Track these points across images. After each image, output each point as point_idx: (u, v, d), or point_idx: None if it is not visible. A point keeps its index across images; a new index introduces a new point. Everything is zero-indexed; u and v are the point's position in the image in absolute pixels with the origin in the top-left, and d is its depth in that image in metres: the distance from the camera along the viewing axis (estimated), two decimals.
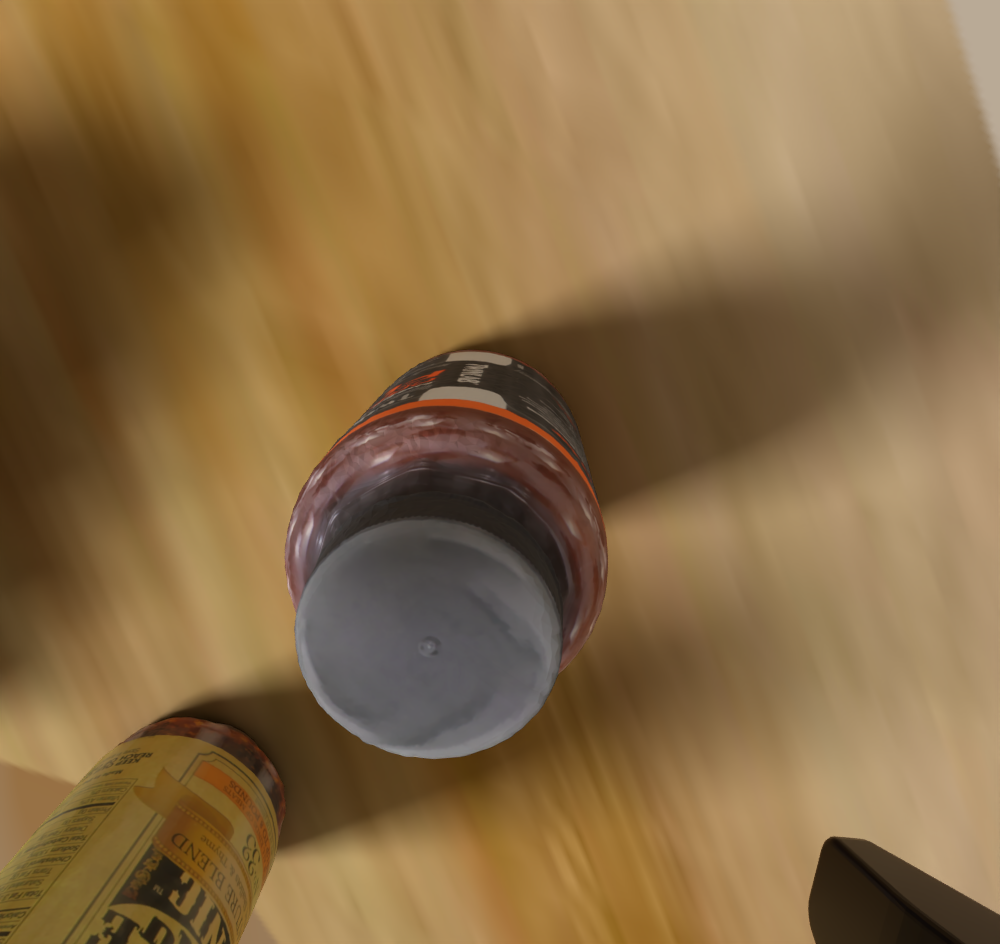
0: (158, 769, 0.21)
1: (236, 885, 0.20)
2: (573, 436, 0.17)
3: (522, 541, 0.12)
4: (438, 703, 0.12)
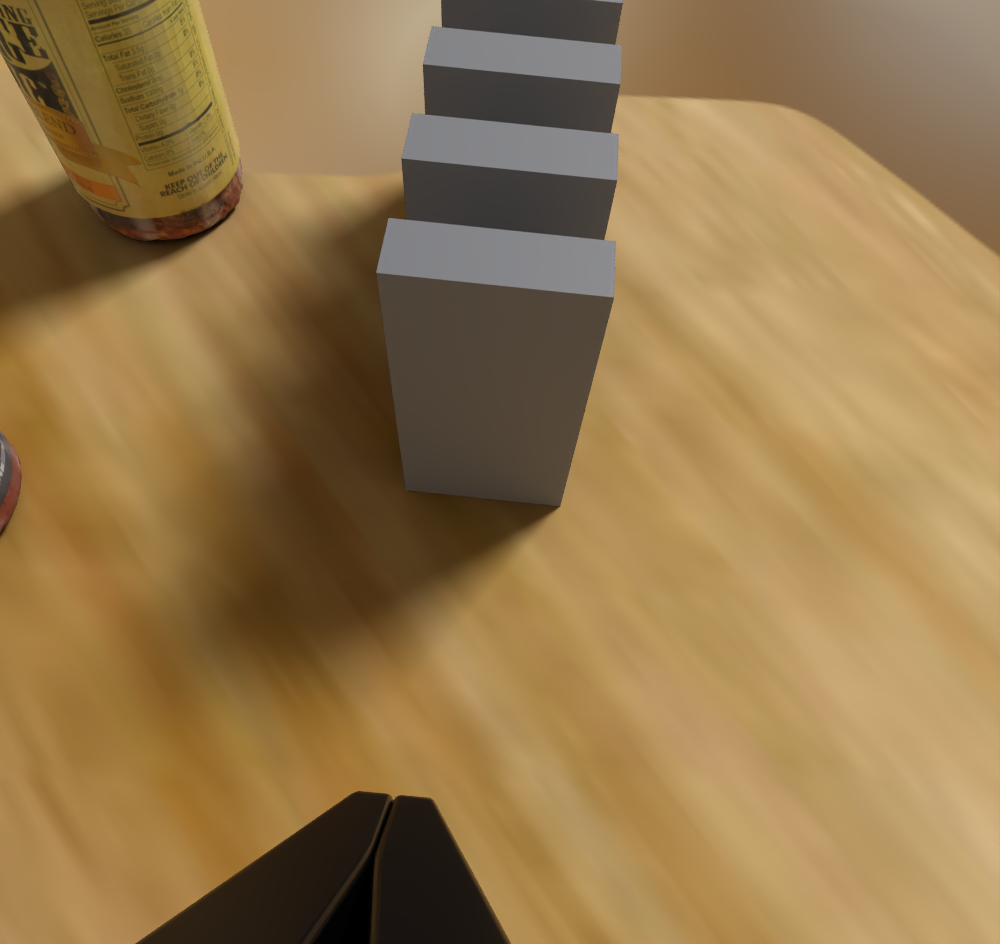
0: (140, 183, 0.27)
1: None
2: None
3: None
4: None
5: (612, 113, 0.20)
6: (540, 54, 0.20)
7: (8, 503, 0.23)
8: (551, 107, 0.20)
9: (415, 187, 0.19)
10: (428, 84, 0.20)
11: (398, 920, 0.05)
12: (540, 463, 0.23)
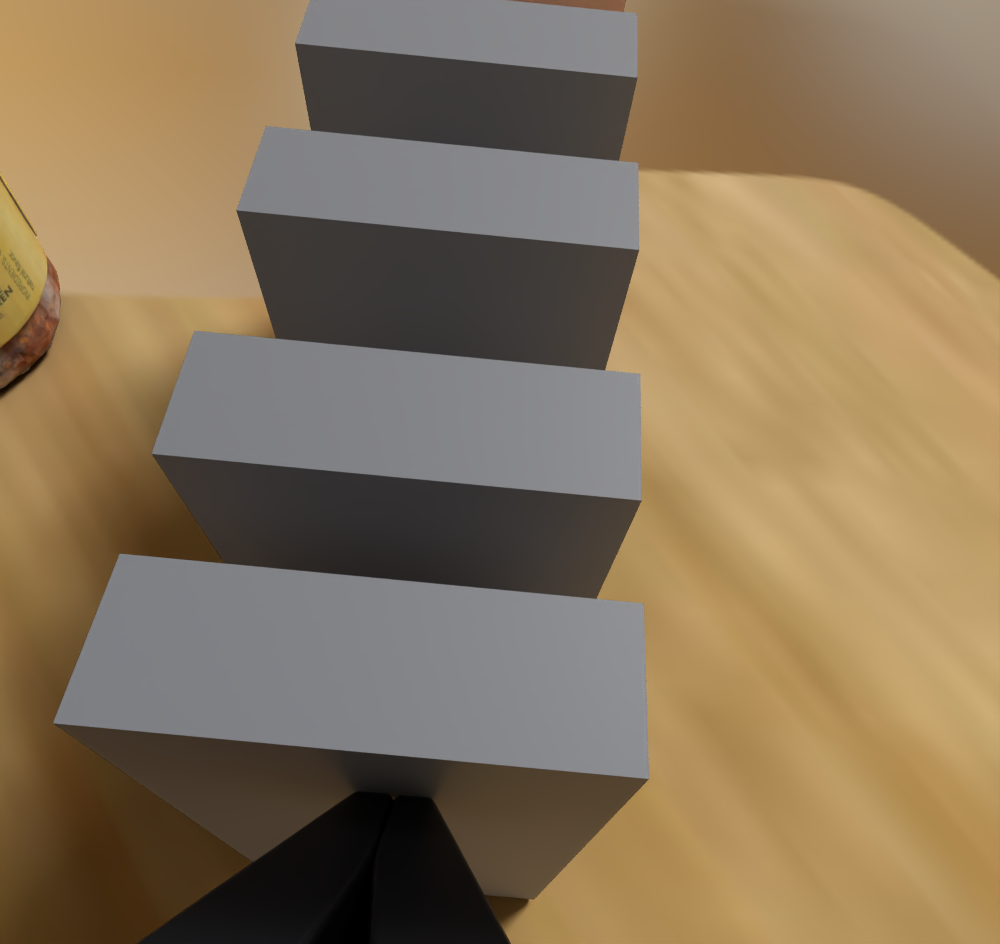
0: None
1: None
2: None
3: None
4: None
5: (622, 295, 0.10)
6: (479, 184, 0.10)
7: None
8: (502, 284, 0.10)
9: (201, 492, 0.09)
10: (255, 244, 0.10)
11: (398, 920, 0.05)
12: (495, 878, 0.13)
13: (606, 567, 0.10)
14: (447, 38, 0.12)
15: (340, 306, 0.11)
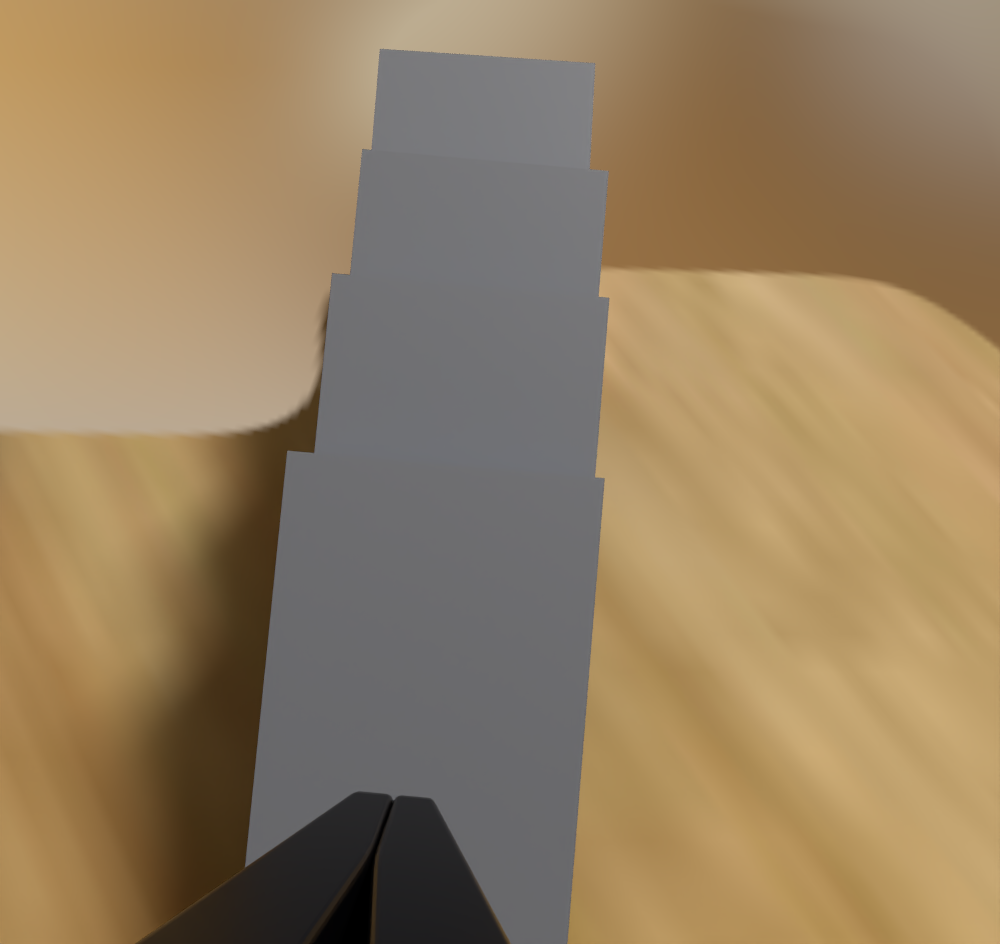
0: None
1: None
2: None
3: None
4: None
5: (602, 211, 0.16)
6: None
7: None
8: (523, 204, 0.16)
9: (343, 319, 0.14)
10: (365, 175, 0.16)
11: (398, 920, 0.05)
12: None
13: (598, 396, 0.14)
14: None
15: (408, 231, 0.16)
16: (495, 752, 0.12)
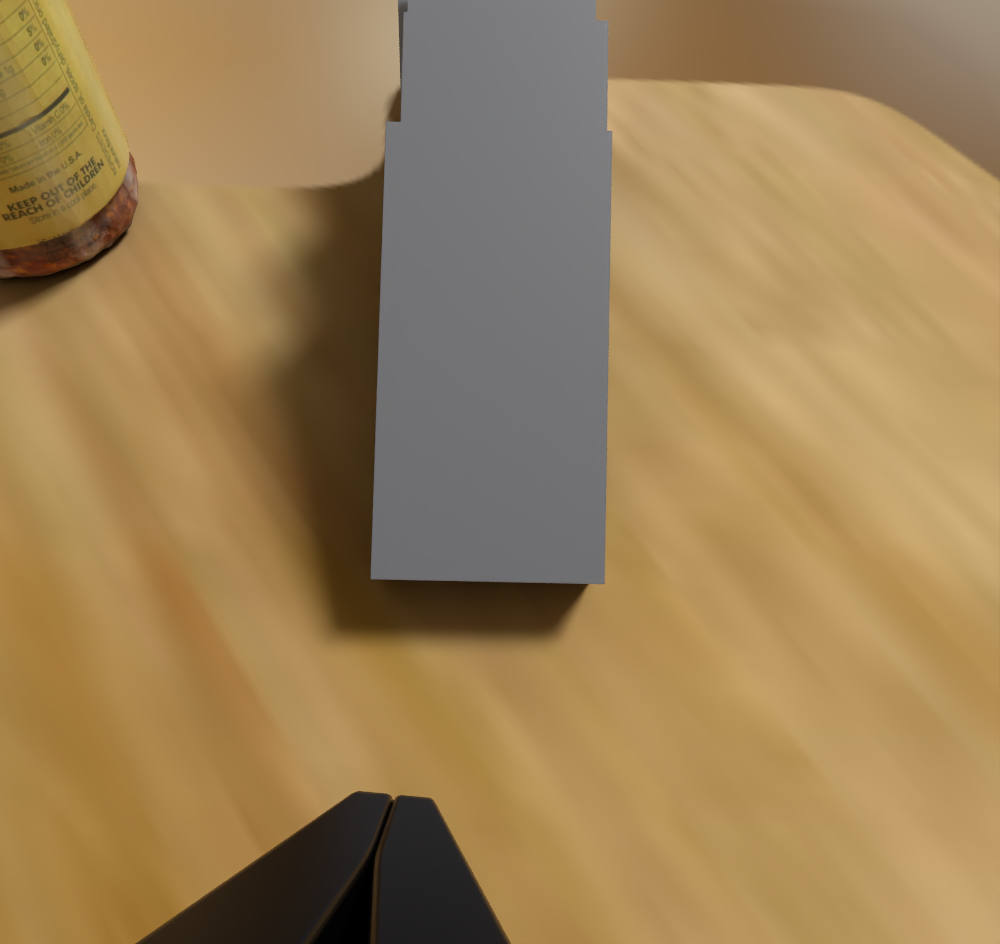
0: None
1: None
2: None
3: None
4: None
5: None
6: None
7: None
8: None
9: (414, 45, 0.19)
10: None
11: (398, 920, 0.05)
12: (566, 459, 0.17)
13: (605, 92, 0.19)
14: None
15: None
16: (547, 323, 0.17)
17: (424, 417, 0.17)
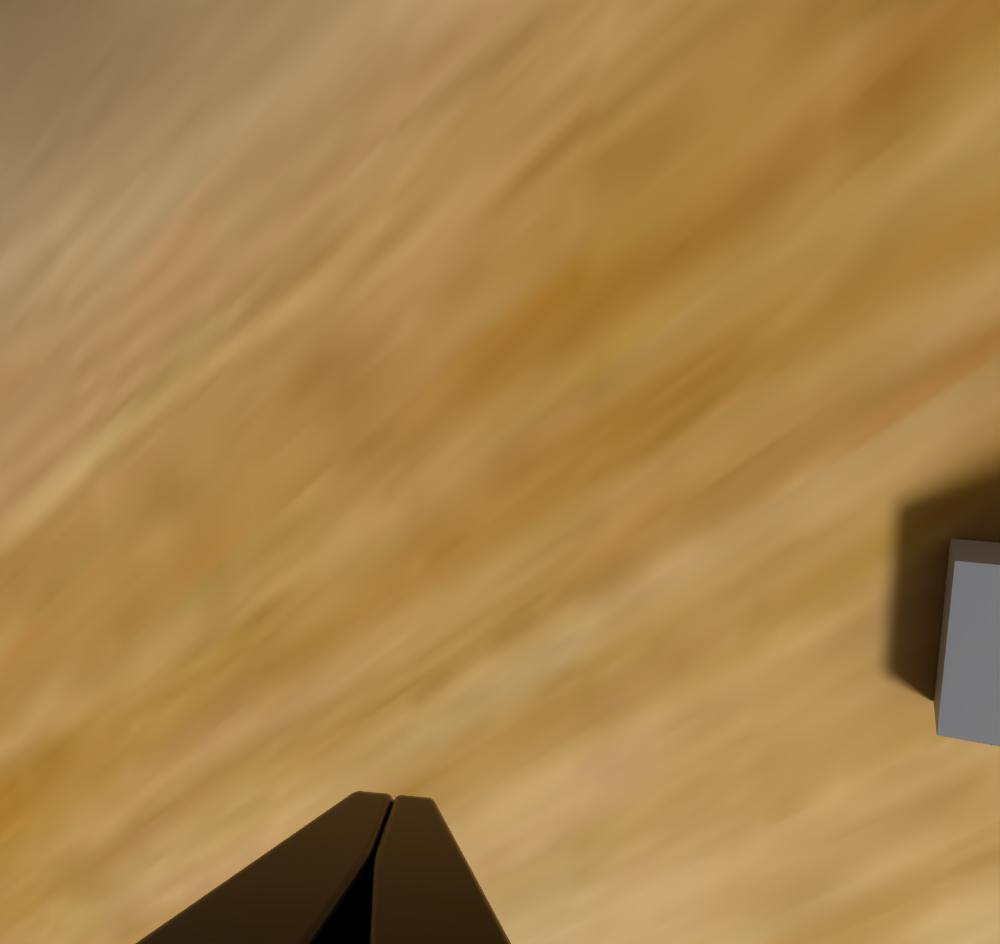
0: None
1: None
2: None
3: None
4: None
5: None
6: None
7: None
8: None
9: None
10: None
11: (397, 920, 0.05)
12: None
13: None
14: None
15: None
16: None
17: None
